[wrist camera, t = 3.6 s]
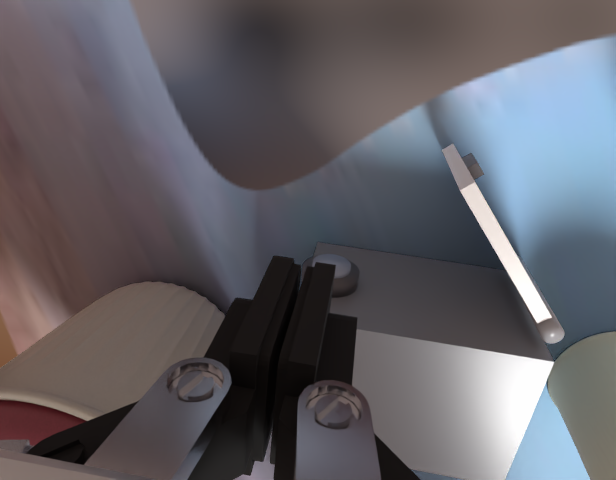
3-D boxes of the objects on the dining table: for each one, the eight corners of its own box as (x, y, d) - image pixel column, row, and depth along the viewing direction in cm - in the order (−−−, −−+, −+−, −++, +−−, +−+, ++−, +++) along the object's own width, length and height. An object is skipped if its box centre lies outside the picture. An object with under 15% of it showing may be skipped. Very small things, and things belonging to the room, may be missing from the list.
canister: (311, 385, 41) (248, 699, 22) (153, 431, 46) (-6, 712, 27) (204, 211, 35) (-7, 433, 16) (38, 288, 41) (-262, 518, 22)
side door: (531, 262, 32) (575, 335, 25) (509, 272, 33) (546, 346, 25) (461, 137, 29) (488, 177, 22) (438, 151, 30) (456, 194, 22)
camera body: (514, 253, 33) (569, 350, 23) (473, 376, 38) (504, 498, 28) (315, 224, 34) (287, 304, 24) (301, 346, 39) (274, 453, 29)
